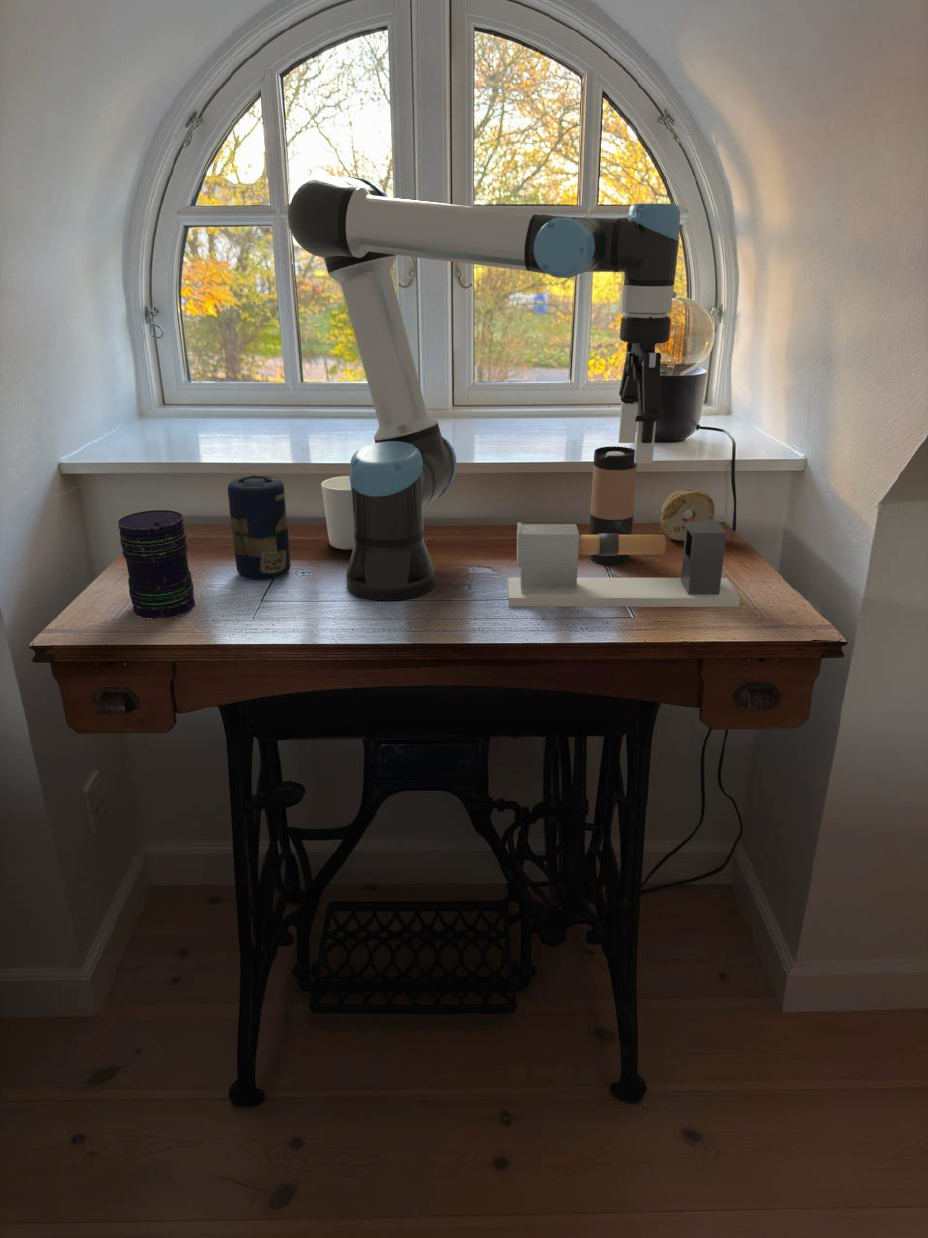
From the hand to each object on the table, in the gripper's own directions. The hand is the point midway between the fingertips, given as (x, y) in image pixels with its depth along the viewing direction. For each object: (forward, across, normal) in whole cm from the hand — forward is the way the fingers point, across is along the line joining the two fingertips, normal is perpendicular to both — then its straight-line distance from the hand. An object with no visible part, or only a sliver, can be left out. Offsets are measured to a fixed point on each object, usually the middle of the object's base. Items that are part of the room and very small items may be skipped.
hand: (634, 452), depth 144 cm
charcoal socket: (+21, -7, -11) cm, 25 cm away
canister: (+24, +6, +63) cm, 67 cm away
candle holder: (+23, +22, +49) cm, 59 cm away
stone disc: (+23, +21, -16) cm, 35 cm away
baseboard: (+22, -7, +2) cm, 23 cm away
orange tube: (+15, -7, +6) cm, 18 cm away
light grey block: (+21, -6, +14) cm, 26 cm away
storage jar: (+24, -8, +76) cm, 81 cm away
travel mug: (+23, +11, +1) cm, 25 cm away
